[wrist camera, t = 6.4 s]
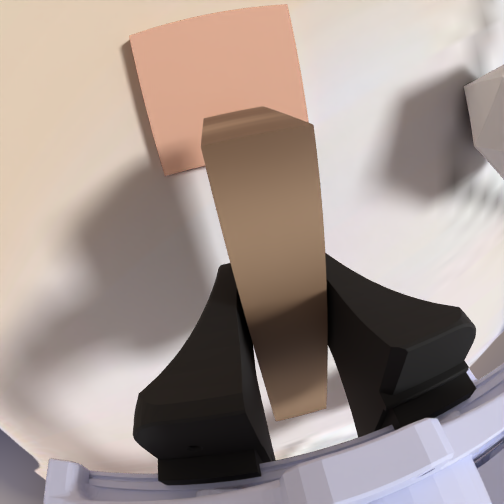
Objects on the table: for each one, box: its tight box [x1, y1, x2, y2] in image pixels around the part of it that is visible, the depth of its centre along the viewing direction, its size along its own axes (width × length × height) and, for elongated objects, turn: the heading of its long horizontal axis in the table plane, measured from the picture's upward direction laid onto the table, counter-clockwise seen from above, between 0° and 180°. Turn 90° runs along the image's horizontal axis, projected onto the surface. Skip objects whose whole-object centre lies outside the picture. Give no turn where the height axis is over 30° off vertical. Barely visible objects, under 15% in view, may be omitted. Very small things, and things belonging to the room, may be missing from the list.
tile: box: [129, 4, 309, 176], centre depth 14 cm, size 1×8×8 cm
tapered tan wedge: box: [201, 106, 328, 421], centre depth 12 cm, size 12×2×6 cm, turn 11°
